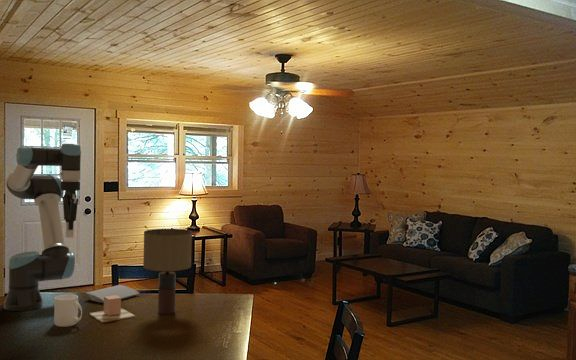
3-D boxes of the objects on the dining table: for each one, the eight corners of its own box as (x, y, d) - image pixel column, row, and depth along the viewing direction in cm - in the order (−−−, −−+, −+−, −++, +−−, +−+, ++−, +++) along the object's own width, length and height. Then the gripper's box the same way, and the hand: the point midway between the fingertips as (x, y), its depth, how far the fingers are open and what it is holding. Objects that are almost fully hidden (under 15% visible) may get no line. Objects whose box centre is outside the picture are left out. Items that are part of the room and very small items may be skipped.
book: (80, 301, 248) (80, 292, 248) (119, 291, 268) (119, 283, 268) (103, 306, 241) (103, 297, 241) (141, 296, 260) (141, 288, 260)
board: (89, 314, 226) (89, 313, 226) (121, 309, 235) (121, 307, 235) (101, 322, 215) (101, 321, 215) (135, 317, 224) (135, 315, 224)
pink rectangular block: (103, 312, 226) (104, 296, 226) (115, 310, 229) (116, 295, 229) (108, 315, 222) (108, 299, 222) (120, 313, 225) (121, 297, 225)
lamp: (132, 314, 227) (134, 232, 226) (160, 303, 246) (162, 227, 245) (172, 321, 220) (174, 236, 219) (198, 309, 239) (200, 230, 237)
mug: (73, 329, 206) (74, 301, 206) (49, 325, 210) (49, 298, 210) (89, 323, 214) (89, 296, 214) (65, 319, 218) (65, 293, 218)
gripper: (56, 180, 226) (55, 236, 227) (66, 181, 216) (65, 240, 217) (74, 180, 231) (73, 234, 232) (85, 181, 221) (84, 238, 222)
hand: (69, 237), depth 224 cm, fingers closed
